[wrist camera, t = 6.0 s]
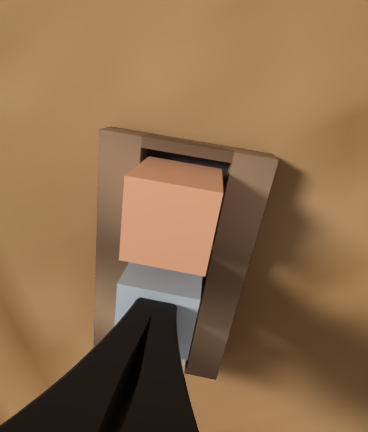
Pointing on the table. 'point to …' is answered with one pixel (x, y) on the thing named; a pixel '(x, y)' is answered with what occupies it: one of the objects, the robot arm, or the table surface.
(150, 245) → the key terracotta
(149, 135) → the brown flat frame
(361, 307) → the table surface
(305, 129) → the table surface
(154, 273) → the key slate
